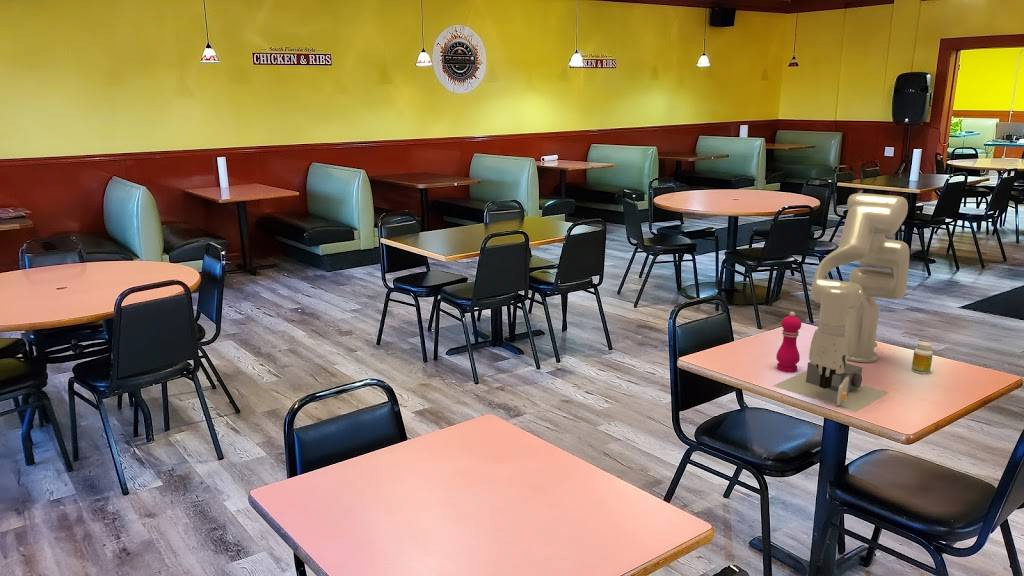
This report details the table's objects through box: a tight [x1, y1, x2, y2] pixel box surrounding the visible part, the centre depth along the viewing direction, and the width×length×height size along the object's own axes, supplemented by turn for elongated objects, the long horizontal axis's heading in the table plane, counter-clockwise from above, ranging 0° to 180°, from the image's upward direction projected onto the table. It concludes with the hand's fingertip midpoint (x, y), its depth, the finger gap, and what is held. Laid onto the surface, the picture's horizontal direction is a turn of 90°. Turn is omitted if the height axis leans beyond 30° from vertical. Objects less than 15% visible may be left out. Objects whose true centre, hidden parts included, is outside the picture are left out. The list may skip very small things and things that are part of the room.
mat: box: [772, 370, 889, 413], centre depth 234 cm, size 22×26×1 cm
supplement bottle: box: [911, 341, 934, 375], centre depth 249 cm, size 5×5×10 cm
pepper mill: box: [775, 311, 802, 373], centre depth 248 cm, size 7×7×20 cm
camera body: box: [806, 361, 863, 393], centre depth 236 cm, size 9×14×7 cm, turn 41°
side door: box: [837, 375, 850, 405], centre depth 224 cm, size 2×11×6 cm, turn 146°
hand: (825, 387), depth 226 cm, fingers closed
